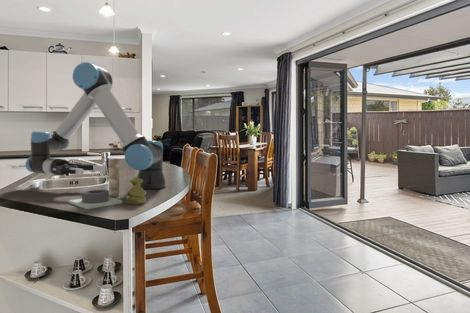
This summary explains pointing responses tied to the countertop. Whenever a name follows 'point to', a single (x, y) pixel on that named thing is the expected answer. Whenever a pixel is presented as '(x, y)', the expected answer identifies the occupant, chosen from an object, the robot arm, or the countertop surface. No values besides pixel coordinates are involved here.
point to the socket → (95, 199)
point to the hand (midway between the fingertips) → (94, 170)
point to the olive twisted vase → (136, 192)
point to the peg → (113, 177)
